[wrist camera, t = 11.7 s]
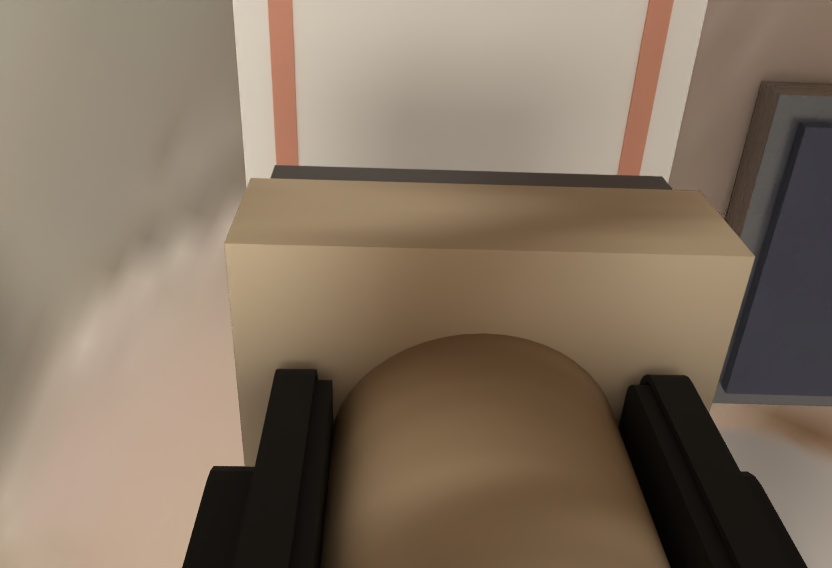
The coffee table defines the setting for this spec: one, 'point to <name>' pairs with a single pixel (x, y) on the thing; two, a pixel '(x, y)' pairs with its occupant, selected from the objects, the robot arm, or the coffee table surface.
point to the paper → (465, 84)
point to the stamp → (479, 350)
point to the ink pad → (784, 252)
